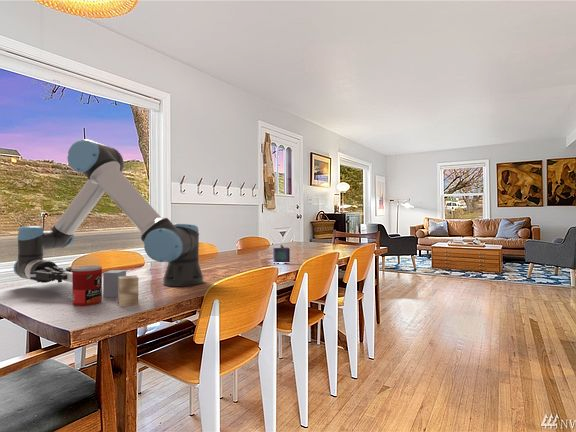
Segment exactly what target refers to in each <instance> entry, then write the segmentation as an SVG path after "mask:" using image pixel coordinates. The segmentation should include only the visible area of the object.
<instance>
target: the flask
mask: <svg viewBox="0 0 576 432" xmlns="http://www.w3.org/2000/svg"><path fill="white" fill-rule="evenodd" d="M272 251H273V253H272V255H273V256H272V257H273V258H272V263H273V262H290V261H291V257H290V256H291V255H290V251H291V249H290V247H288V246H284V245H283V244H280V245H279V247H272ZM290 263H291V262H290Z"/></svg>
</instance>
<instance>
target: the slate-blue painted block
mask: <svg viewBox="0 0 576 432" xmlns="http://www.w3.org/2000/svg"><path fill="white" fill-rule="evenodd" d="M121 276H127V270H125V269H124V270H123V269H121V270H119V269H117V270H116V269H115V270H114V269H112V270H111V269H110V270H108V271H105V272H102V298H118V277H121Z"/></svg>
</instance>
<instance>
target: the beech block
mask: <svg viewBox="0 0 576 432" xmlns="http://www.w3.org/2000/svg"><path fill="white" fill-rule="evenodd" d="M117 299H118V300H117V302H118V305H119V307H127V306H133V305H134V306H135V305H139V276H137V275H136V274H135V275H134V274H133V275H126V276H121V277H118V297H117Z"/></svg>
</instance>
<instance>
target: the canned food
mask: <svg viewBox="0 0 576 432" xmlns="http://www.w3.org/2000/svg"><path fill="white" fill-rule="evenodd" d="M72 269H73V273H72V282H71V283H72V304H73V306H77V307H86V306H87V307H88V306H94V305H98V304H100V303H101V302H102V299H103V267H102V265H94V264H93V265H91V264H90V265H80V266H74V267H73V268H72Z"/></svg>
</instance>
